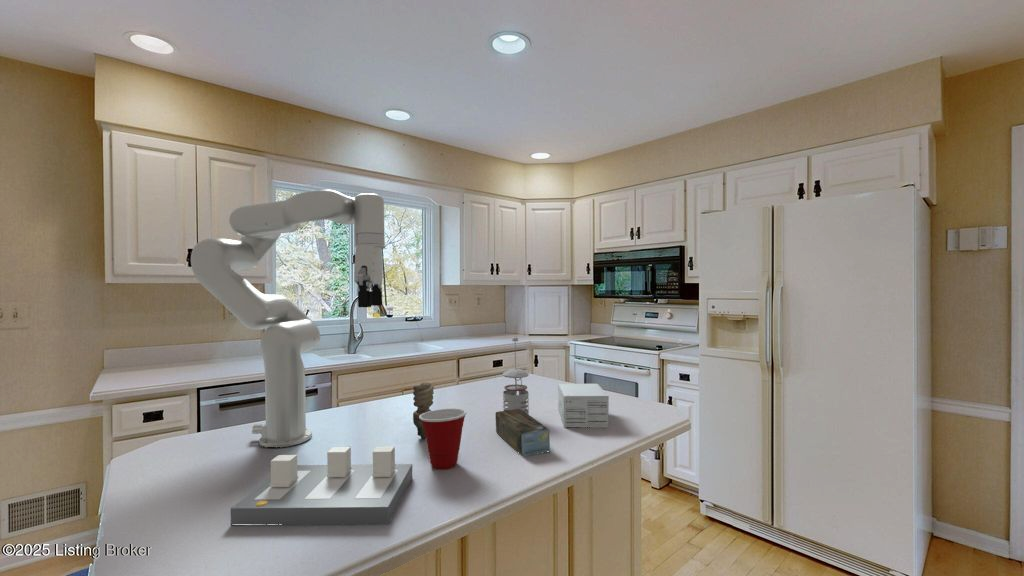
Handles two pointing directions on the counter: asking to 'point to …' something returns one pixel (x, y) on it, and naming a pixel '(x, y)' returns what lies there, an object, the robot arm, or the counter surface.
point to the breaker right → (383, 461)
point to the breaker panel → (326, 498)
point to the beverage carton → (522, 432)
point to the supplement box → (583, 405)
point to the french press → (516, 389)
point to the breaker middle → (339, 461)
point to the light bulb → (422, 404)
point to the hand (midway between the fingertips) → (370, 306)
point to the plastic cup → (443, 436)
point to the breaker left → (283, 470)
